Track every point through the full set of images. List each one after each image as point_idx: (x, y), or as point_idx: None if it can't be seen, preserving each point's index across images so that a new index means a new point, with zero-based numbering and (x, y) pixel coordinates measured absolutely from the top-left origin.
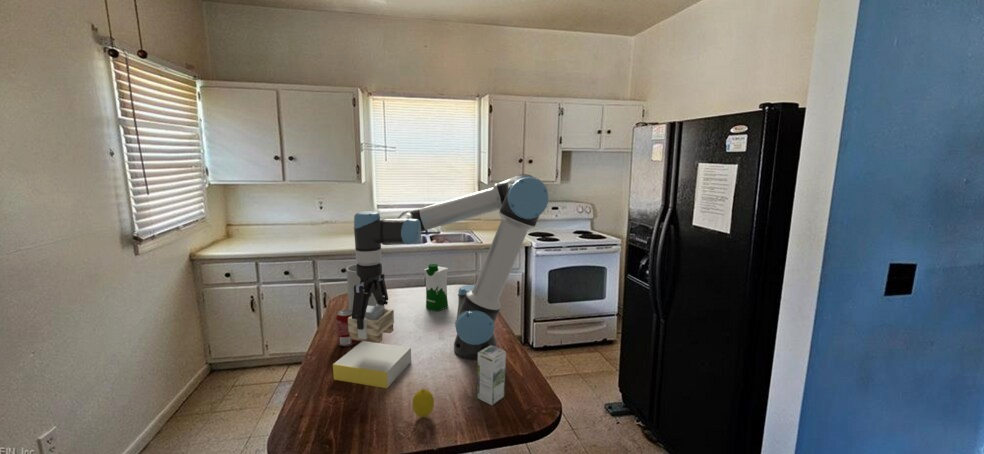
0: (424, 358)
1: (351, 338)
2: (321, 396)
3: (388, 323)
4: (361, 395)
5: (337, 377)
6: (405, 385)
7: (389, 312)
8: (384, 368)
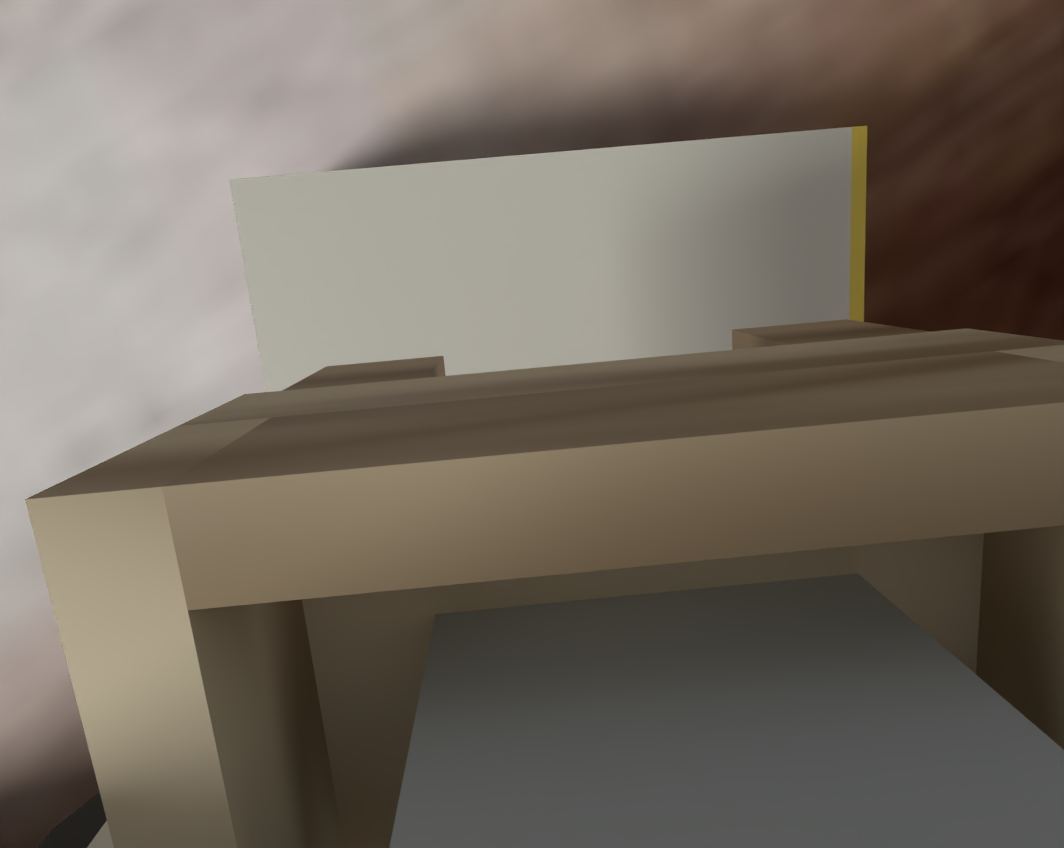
0: (172, 94)
1: None
2: None
3: (502, 385)
4: (938, 302)
5: None
6: (699, 8)
7: (365, 477)
8: (791, 199)
